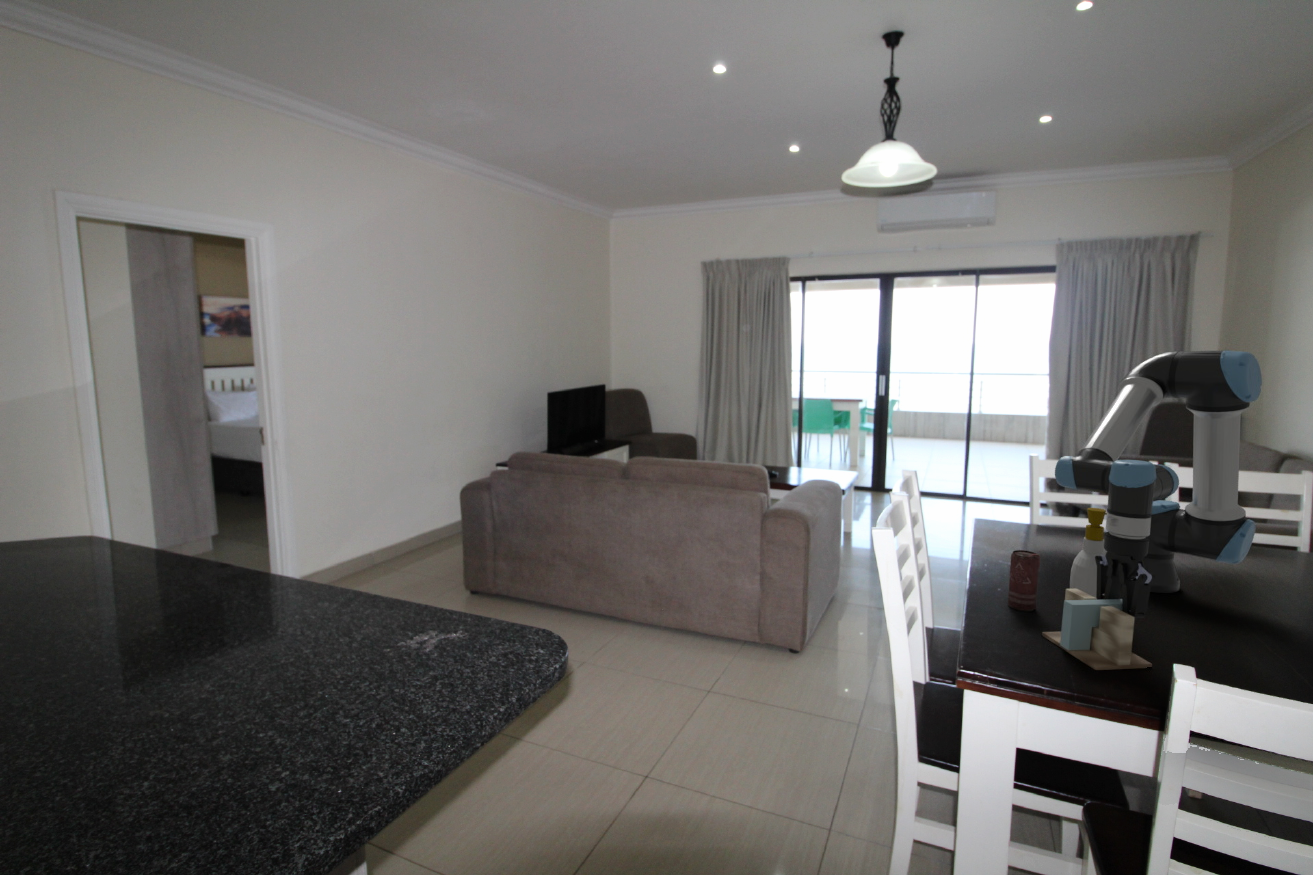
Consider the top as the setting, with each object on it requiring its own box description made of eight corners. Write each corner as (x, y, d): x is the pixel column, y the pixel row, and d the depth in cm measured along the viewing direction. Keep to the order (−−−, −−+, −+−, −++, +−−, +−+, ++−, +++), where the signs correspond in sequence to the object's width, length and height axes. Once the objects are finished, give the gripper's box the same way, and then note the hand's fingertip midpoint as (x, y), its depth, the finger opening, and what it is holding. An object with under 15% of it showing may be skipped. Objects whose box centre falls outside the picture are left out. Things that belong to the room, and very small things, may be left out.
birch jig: (1042, 635, 144) (1045, 589, 143) (1092, 633, 145) (1096, 587, 144) (1095, 669, 129) (1100, 618, 127) (1151, 667, 130) (1156, 616, 128)
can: (1040, 612, 157) (1044, 557, 155) (1012, 610, 158) (1016, 555, 157) (1031, 603, 163) (1035, 550, 161) (1004, 601, 164) (1007, 548, 162)
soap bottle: (1109, 627, 148) (1119, 517, 145) (1063, 617, 154) (1072, 511, 151) (1114, 608, 159) (1124, 506, 156) (1072, 600, 165) (1080, 501, 162)
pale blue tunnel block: (1121, 643, 139) (1126, 598, 137) (1130, 648, 136) (1135, 603, 135) (1060, 644, 138) (1064, 600, 136) (1068, 650, 135) (1072, 604, 134)
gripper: (1081, 524, 142) (1073, 625, 145) (1141, 546, 126) (1130, 659, 129) (1113, 523, 142) (1104, 624, 145) (1177, 545, 126) (1165, 657, 129)
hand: (1116, 640), depth 137 cm, fingers open, 3 cm apart
